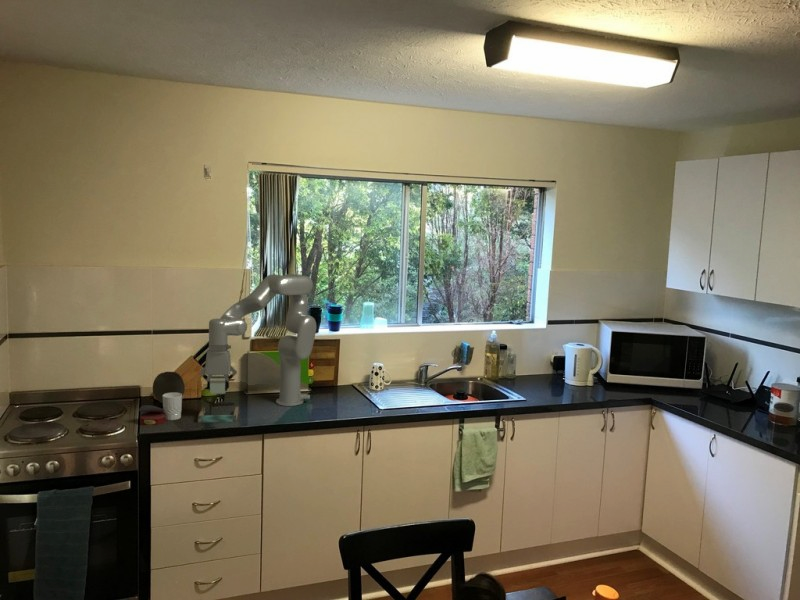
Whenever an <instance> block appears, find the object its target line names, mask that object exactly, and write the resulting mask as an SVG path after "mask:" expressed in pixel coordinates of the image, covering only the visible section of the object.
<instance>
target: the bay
mask: <svg viewBox="0 0 800 600" xmlns="http://www.w3.org/2000/svg"><path fill="white" fill-rule="evenodd" d="M205 413H206V407H201V409H200V410H199V413H198V416H197V423H227V422H228V423H230V422H231V423H232V422H233V423H234V422H237V421H238V416H239V406H235V408H234V411H233V414H224V415H223V414H222V415H220V414H219V415H212V414H211V415H205Z"/></svg>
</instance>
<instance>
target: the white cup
mask: <svg viewBox="0 0 800 600" xmlns="http://www.w3.org/2000/svg"><path fill="white" fill-rule="evenodd" d="M162 398H163V404H162V409H164V410H165V411H163V413H165V421H175V420H179V419H181V417H182V410H183V409H182V405H183V396H182V394H181V393H176V392H173V393H166V394H163V395H162Z"/></svg>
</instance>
